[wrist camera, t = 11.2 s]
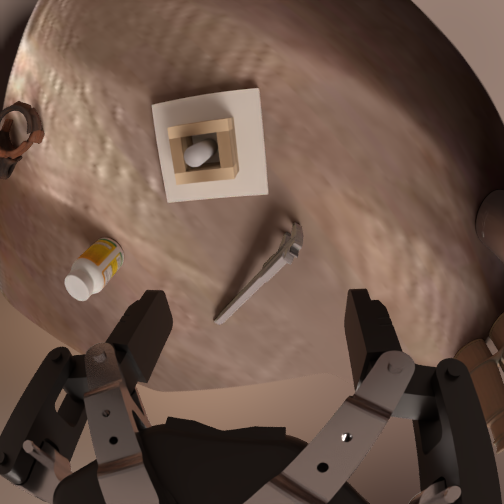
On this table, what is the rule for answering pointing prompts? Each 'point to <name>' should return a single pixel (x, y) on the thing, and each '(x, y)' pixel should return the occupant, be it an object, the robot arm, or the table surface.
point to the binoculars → (488, 378)
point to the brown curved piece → (6, 155)
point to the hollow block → (207, 171)
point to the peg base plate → (214, 143)
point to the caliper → (267, 270)
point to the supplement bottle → (94, 268)
